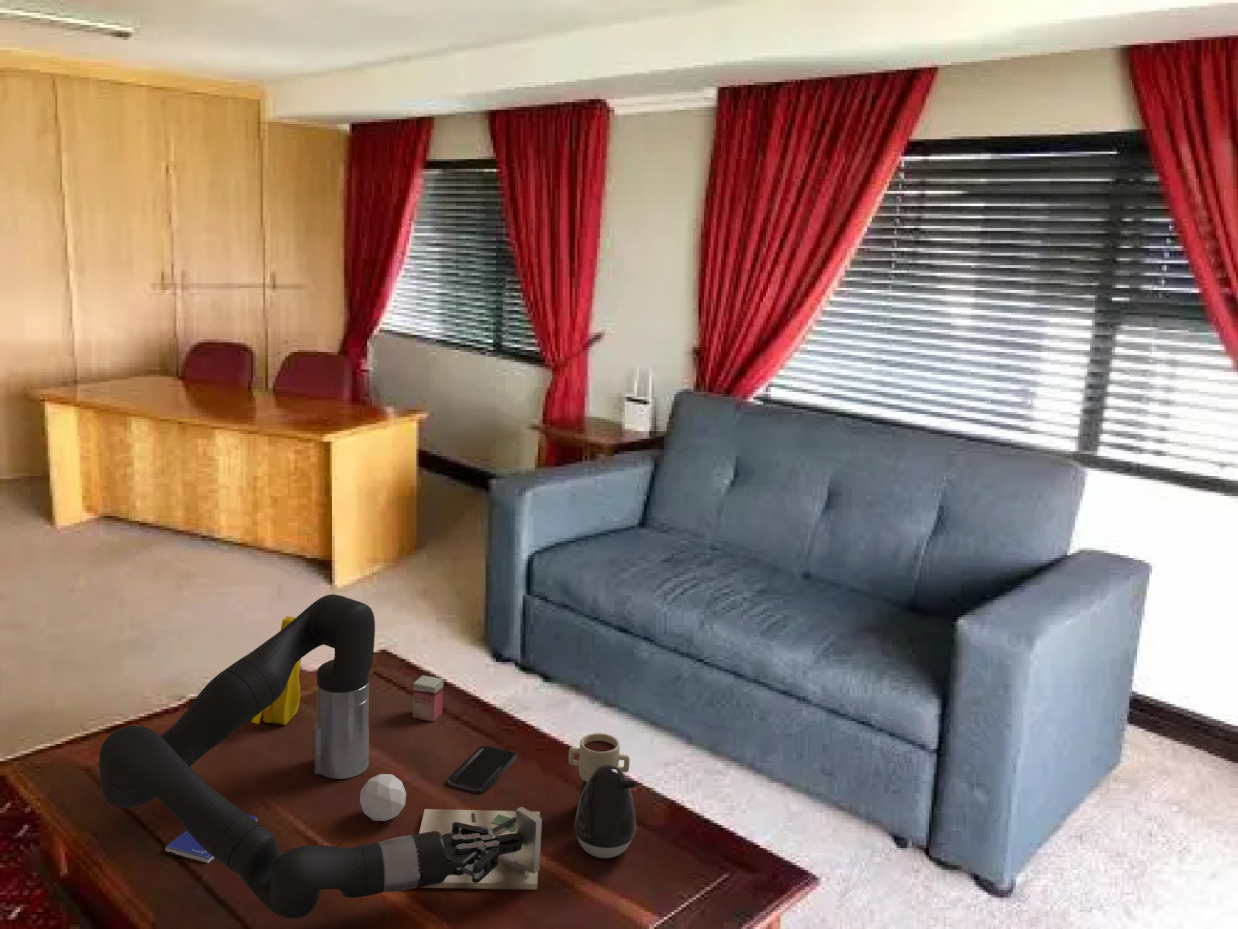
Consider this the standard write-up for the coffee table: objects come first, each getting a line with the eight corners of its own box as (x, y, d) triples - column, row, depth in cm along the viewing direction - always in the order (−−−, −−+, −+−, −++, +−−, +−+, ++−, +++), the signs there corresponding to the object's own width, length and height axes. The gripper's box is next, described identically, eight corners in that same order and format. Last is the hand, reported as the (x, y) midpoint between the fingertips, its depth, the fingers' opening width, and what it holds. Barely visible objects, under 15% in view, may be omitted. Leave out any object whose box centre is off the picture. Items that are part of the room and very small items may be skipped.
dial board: (407, 887, 159) (408, 881, 158) (424, 814, 178) (424, 808, 178) (537, 889, 160) (537, 883, 160) (539, 816, 179) (539, 811, 179)
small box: (411, 718, 211) (412, 683, 209) (421, 709, 215) (421, 674, 214) (434, 722, 210) (434, 687, 208) (443, 713, 214) (444, 678, 212)
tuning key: (457, 842, 168) (458, 784, 166) (506, 816, 176) (508, 760, 174) (525, 887, 158) (527, 826, 156) (573, 857, 166) (577, 799, 164)
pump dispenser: (614, 876, 164) (619, 791, 161) (561, 852, 170) (565, 769, 166) (646, 845, 173) (652, 764, 169) (595, 824, 178) (600, 745, 175)
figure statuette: (282, 697, 217) (280, 599, 212) (317, 701, 216) (316, 603, 211) (242, 737, 200) (239, 632, 194) (281, 742, 199) (279, 636, 194)
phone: (445, 781, 187) (482, 744, 201) (444, 786, 188) (482, 749, 201) (483, 791, 185) (519, 753, 199) (483, 797, 185) (518, 758, 199)
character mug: (629, 802, 186) (633, 737, 183) (622, 824, 179) (627, 757, 176) (570, 793, 187) (573, 729, 184) (561, 815, 180) (565, 748, 177)
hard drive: (207, 857, 161) (257, 816, 173) (164, 845, 164) (216, 806, 175) (208, 866, 162) (257, 824, 173) (165, 854, 164) (216, 814, 176)
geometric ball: (392, 835, 176) (403, 816, 171) (348, 819, 175) (358, 800, 170) (406, 795, 182) (417, 775, 176) (363, 779, 181) (373, 759, 175)
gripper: (399, 858, 159) (505, 838, 167) (420, 911, 148) (533, 888, 155) (401, 815, 157) (508, 797, 165) (422, 866, 146) (536, 844, 153)
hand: (520, 841), depth 160 cm, fingers closed
